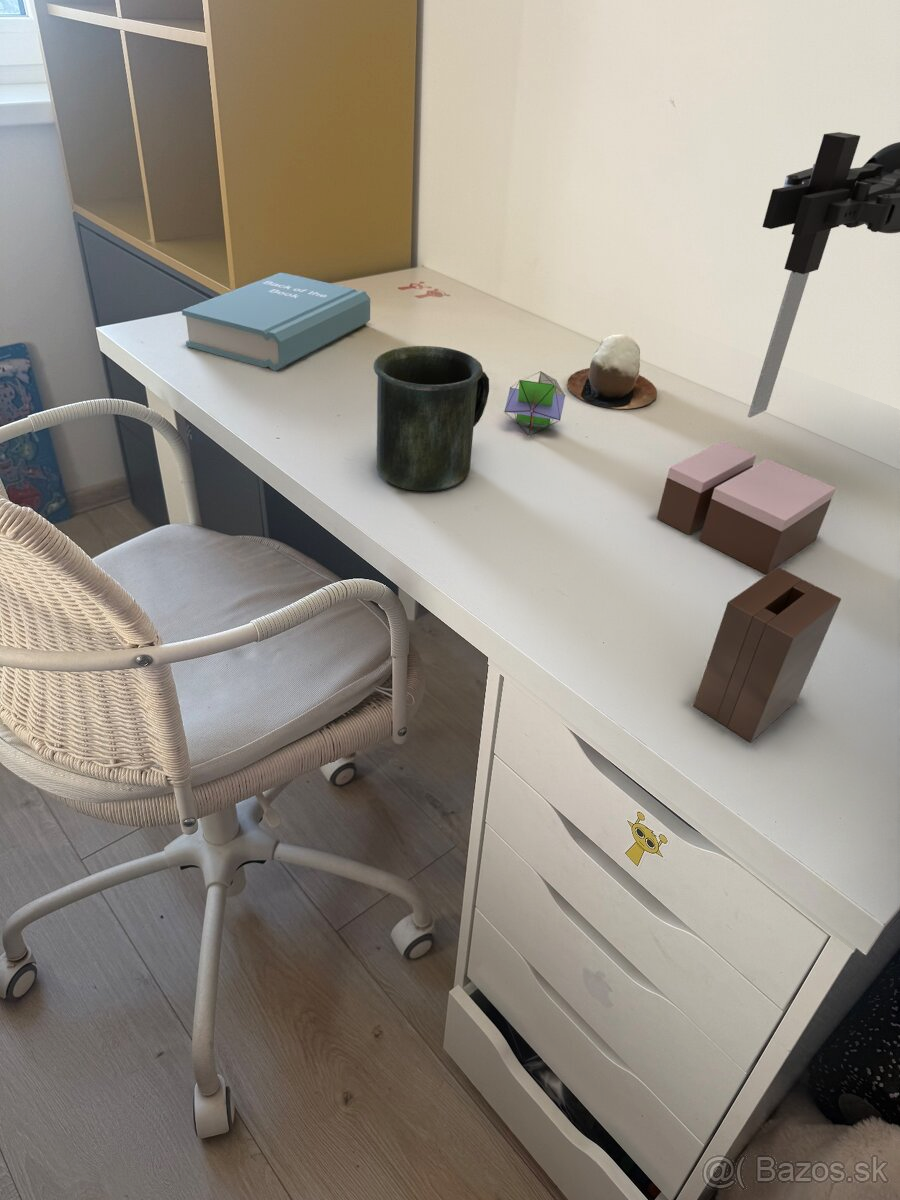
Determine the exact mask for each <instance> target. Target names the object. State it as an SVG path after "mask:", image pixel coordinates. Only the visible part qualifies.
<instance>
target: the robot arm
mask: <svg viewBox="0 0 900 1200" xmlns="http://www.w3.org/2000/svg"><path fill="white" fill-rule="evenodd" d="M814 166H815V163H813V165H812V167H810V168H808V169H804V170H800V171H797V172H794V173H791V174H788V175H786V176H785V180H784V184H783V187H778V188H773V189H772V190H771V194H770V197H769V201H768V204H767V208H766V212H765V216H764V219H763V223H762V228H765V229H769V230H773V229H777V228H781V227H785V226H790V225H793V227H792V231H791V235H792V236H794V235H796V236H804V235H808V234H812V233H816V232H820V231H823V230H827V229H831V230H832V229H835V228H839V227H840V226H842V225H843V226H845V227H846V228H850V229H853V228H858V227H860V226H863V225H865V226H867V227H866V229H867V230H869V231H870V232H872V233H880V234H881V233H882V234H897V233H898V234H899V233H900V141H897V142H894V143H891V144H887V145H886V146H884V147H883V148H881V149H879V150H878V151H877V152H876V153H874V154H873V155H872V156H871V157H870V158H869V159H868V160H867V161H866V162H865V163H864V164H863V165H862V166H861V167H854V168H853V167H852V168H850V171H849V174H848V177H847V180H846V183H845V187H844V188H841V189H836V190H831V191H825V192H820V193H815V194H810V195H806V193H807V189H808V186H809V183H810V179H811V176H812V172H813V169H814Z"/></svg>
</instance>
